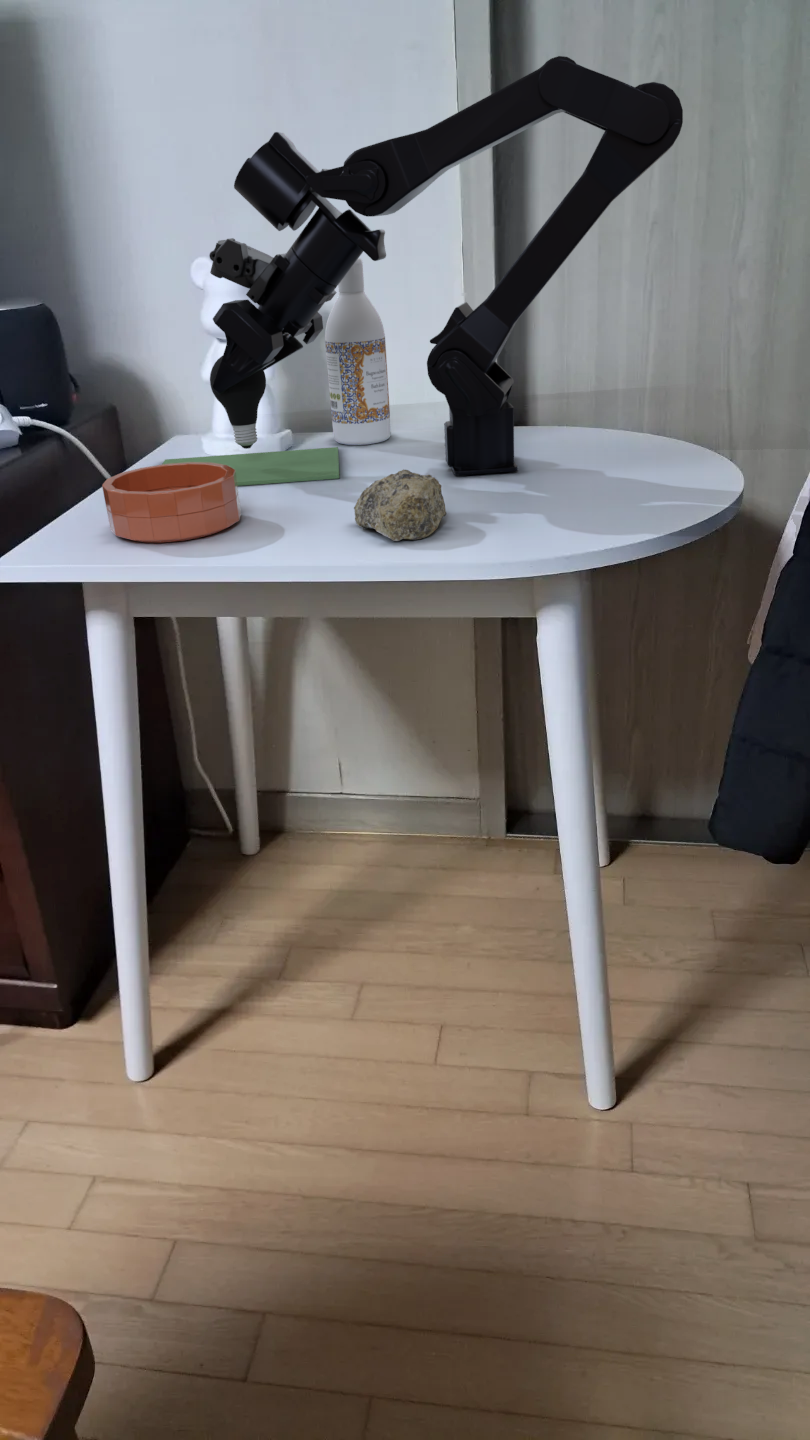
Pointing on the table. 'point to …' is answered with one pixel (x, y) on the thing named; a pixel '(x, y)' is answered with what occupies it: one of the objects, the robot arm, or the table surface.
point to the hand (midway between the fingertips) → (226, 385)
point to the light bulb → (242, 404)
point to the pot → (172, 501)
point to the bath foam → (357, 365)
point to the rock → (402, 506)
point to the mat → (277, 465)
